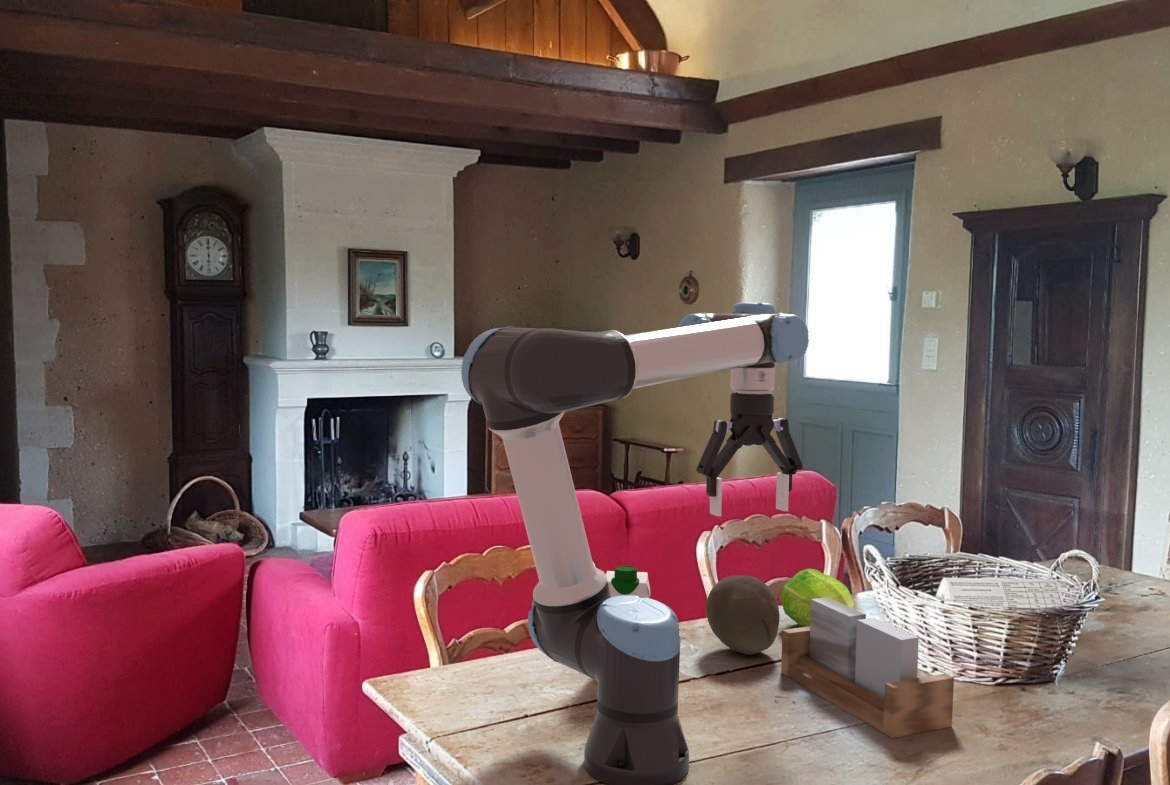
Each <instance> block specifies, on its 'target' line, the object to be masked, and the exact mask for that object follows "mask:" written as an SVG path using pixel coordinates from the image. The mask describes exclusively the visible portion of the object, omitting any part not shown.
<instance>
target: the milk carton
mask: <svg viewBox="0 0 1170 785" xmlns="http://www.w3.org/2000/svg"><path fill="white" fill-rule="evenodd" d="M605 575H606V577H607V581H608V585H609V589H610V593H611V597H615V596H622V595H632V596H639V597H640V598H650V597H651V586H650V582H649V574H648V571H647V572H645V571H638V568H637V567H636V566H632V565H618V566H617V565H616V567H614V570H606V573H605ZM650 599H651V598H650Z"/></svg>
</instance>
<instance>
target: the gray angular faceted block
mask: <svg viewBox="0 0 1170 785" xmlns="http://www.w3.org/2000/svg"><path fill="white" fill-rule="evenodd" d="M918 660H919V637H918V636H917V635H914V634H912V633H909V632H907V631H905V630H903V629H901V628H898V627H896V626H893V625H891V624H889V623H887V622H885V621H882V620H880V619H877V618H876V617H868V618H866V619H860V620H857V636H856V666H855V683H856V684H858V685H860V686H862V687H864V688H865V689H867V690H869V691H871V692H873V693H875V694H877V695H878V696H880V697H882V698H884V695H885V683H890V682H896V681H902V680H908V679H914V678H918V669H919V668H918V665H919V664H918V662H919V661H918Z"/></svg>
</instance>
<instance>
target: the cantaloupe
mask: <svg viewBox="0 0 1170 785" xmlns="http://www.w3.org/2000/svg"><path fill="white" fill-rule="evenodd" d="M779 608H780V607H779V604H778V601H777V598H776V596H775V593H774V592H773V590H772V589H771V588H770V587H769V586H768V585H767V584H766V583H765V582H763V581H762V580H761V579H759V578H757V577H755V576H752V575H729V576H726V577H724V578H721V579H720V580H719V581H718V582H717V583H716V584H715V585H714V586H713V587H712V588H711V589H710V591H709V593H708V596H707V598H706V602H705V612H706V613H705V614H706V618H707V621H708V625H709V627H710V629H711V631H712V632H713V634H714V635H715V636H716V637H717V639H718V640H719V641H720V642H721V643H722V644H723V645H725V646H726V647H728V648H729V649H731V650H732V651H735V652H737V653H739V654H742V655H748V656H752V655H754V654H758V653H760V652H763V651H765V650H767V649H769V648H770V647H771V646H772V645H773V644H774V642H775V640H776V638H777V636H778V630H779V625H780V610H779Z"/></svg>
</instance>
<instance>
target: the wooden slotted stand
mask: <svg viewBox="0 0 1170 785" xmlns="http://www.w3.org/2000/svg"><path fill="white" fill-rule="evenodd" d="M860 619H867V614H866V613H863V612H862V611H860V610H858V609H856V608H855V609H853V608H850V607H848V606H846V605H844V604H841V603H839V602H837V601H834V600H832V599H830V598H827V597H825V598H816V599H811V614H810V626H809V627H801V626H800V627H795V628H787V629H782V635H781V637H782V638H781V665H780V666H781V669H780V673H781V674H783V675H784V676H787V678H789V679H791V680H793V681H795V682H796V683H798V684H800V685H801V686H803V687H805V688H806V689H808V690H810V691H811V692H813V693H814V694H817V695H818V696H820V697H822V698H823V699H825V700H826V701H828V702H830V703H831V704H833V705H835V706H836V707H838V708H840V709H842V710H844V711H845V712H846V713H848V714H850V715H851V716H854V717H855V718H857V719H858V720H860V721H862V722H864V723H865V724H867V725H869V726H870V727H873V728H874V729H875V730H877V731H879V732H881V733H882V734H884V735H886V736H888V737H889V738H891V739H893V738H894V739H895V738H900V737H905V736H910V735H915V734H920V733H925V732H931V731H935V730H941V729H946V728H951V727H953V713H954V712H953V710H954V709H953V708H954V707H953V706H954V684H955V682H954V681H955V679H954V678H955V677H953V676H951V675H949V674H947V673H941V674H940V673H939V674H933V675H929V676H928V675H927V676H922V677H917V678H914V679H908V680H902V681H896V682H890V683H885V695H884V698H882V697H880V696H878V695H877V694H875V693H873V692H871V691H869V690H867V689H865V688H864V687H862V686H860V685H858V684H856V683H855V666H856V636H857V620H860Z"/></svg>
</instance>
